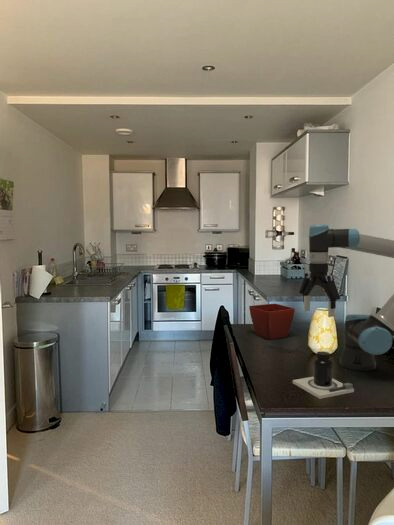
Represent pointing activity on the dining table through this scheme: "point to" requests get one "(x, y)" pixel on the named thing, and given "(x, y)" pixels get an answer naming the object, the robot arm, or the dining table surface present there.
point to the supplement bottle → (323, 369)
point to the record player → (324, 387)
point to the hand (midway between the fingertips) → (318, 313)
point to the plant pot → (271, 320)
